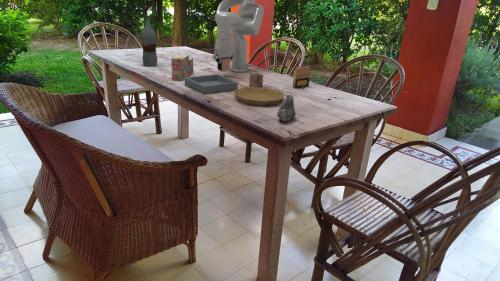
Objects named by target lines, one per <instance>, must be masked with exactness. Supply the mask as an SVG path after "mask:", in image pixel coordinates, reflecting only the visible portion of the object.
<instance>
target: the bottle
mask: <svg viewBox="0 0 500 281" xmlns="http://www.w3.org/2000/svg"><path fill="white" fill-rule="evenodd" d="M140 36H141V45H142V63H143V66H144V67H149V68H151V67H153V68H154V67H157V65H158V55H157V34H156V31H155V30H154V29H153V27H152V25H151V16H150V15H145V27H144V28H143V29H142V31H141V35H140Z"/></svg>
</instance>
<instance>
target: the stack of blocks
mask: <svg viewBox="0 0 500 281" xmlns="http://www.w3.org/2000/svg"><path fill="white" fill-rule="evenodd" d="M193 73H194V58H193V57H190V55H189V54H181V53H180V54H177V55H175V56H173V57H171V81H176V82H177V81H179V82H184V81H185V78H186V77H191V75H192V74H193Z"/></svg>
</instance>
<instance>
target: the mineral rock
mask: <svg viewBox="0 0 500 281" xmlns="http://www.w3.org/2000/svg"><path fill="white" fill-rule="evenodd" d="M294 102H295V101H294V95H291V94H286V95H285V98H284V100H282V101H281V104H280V106H279V109H278V112H277V115H276V116H277V118H279V119H280V120H281V121H282V122H288V121H291V120H292V119H294V118H295V116H297V115H296V110H295V103H294Z"/></svg>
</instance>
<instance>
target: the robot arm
mask: <svg viewBox="0 0 500 281" xmlns="http://www.w3.org/2000/svg"><path fill="white" fill-rule="evenodd" d="M255 1H256V0H222V1H221V2H220V3H219V4H218V6H217V9H216V13H215V16H214V17H215V18H214V20H215V23H216V25H217V29H216V30H217V33H216V34H217V36H216V39H215V43H214V52H213V56H212V59H213V60H215V62H216V63H217V70H218V69H219V70H222V63H221V60H222V58H225V57H226V58H229V59H230V71H229V72H235V73H247V72H249V68H250V67H253V63H247V61H248V60H247V59H248V58H247V56H248V40H247V38H246V36H251V37H255V36H258V35H259V33H260V29H261V25H262V22H263V19H264V18H263V17H264V13H265V11H264V6H263V5H262V4H260V3H256V2H255ZM237 6H238V8H237V12H233V11H231V12H230V11H228V10H229V9H231V8H234V7H237ZM219 70H218V71H219Z"/></svg>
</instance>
